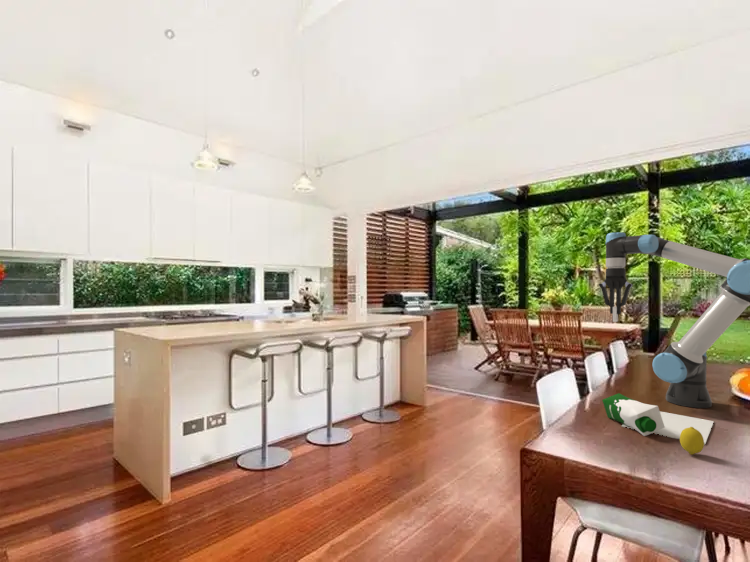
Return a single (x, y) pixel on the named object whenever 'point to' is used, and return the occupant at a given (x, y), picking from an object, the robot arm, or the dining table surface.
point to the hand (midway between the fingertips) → (615, 321)
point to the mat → (682, 425)
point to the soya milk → (634, 414)
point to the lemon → (691, 440)
